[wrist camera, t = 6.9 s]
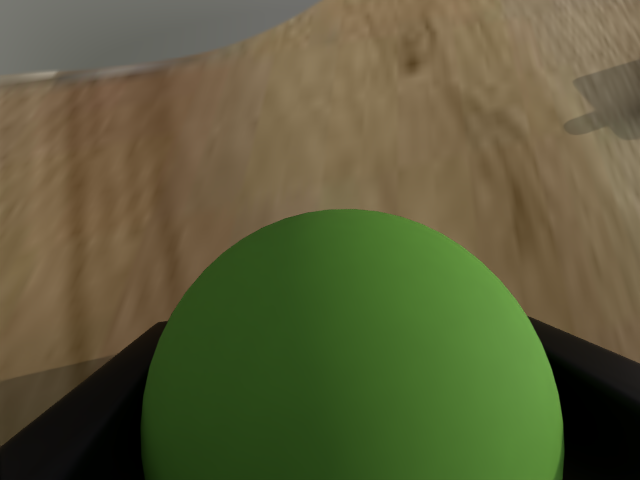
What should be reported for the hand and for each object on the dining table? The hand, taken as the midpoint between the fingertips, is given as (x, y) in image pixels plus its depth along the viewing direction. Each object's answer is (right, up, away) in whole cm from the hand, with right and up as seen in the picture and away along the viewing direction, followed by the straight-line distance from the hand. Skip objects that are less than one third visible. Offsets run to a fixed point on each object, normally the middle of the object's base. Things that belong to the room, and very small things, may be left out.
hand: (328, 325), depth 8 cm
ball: (0, -1, -2) cm, 2 cm away
